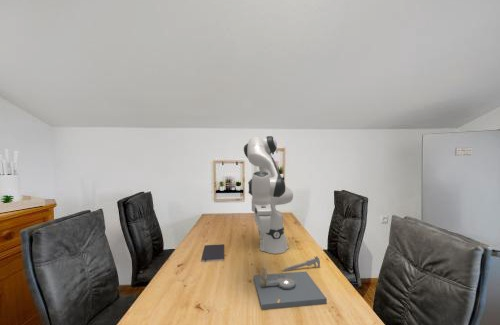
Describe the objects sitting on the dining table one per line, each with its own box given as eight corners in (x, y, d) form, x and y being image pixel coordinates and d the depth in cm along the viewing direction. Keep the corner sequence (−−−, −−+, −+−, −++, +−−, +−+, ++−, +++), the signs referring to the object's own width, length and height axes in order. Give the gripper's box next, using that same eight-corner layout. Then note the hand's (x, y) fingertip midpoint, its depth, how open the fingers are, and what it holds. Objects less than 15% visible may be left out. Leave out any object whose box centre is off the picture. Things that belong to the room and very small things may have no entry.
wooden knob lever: (292, 278, 100) (291, 263, 100) (298, 288, 92) (297, 272, 92) (259, 280, 98) (259, 265, 98) (262, 291, 90) (262, 274, 90)
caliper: (319, 267, 116) (319, 255, 115) (320, 268, 114) (320, 256, 114) (282, 270, 112) (282, 258, 112) (282, 272, 111) (282, 259, 111)
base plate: (253, 279, 103) (253, 274, 103) (306, 275, 107) (306, 271, 107) (261, 310, 82) (261, 304, 82) (326, 303, 86) (326, 298, 86)
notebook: (224, 261, 123) (224, 246, 144) (224, 258, 123) (224, 244, 144) (201, 262, 122) (204, 247, 143) (201, 260, 122) (204, 245, 143)
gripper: (251, 202, 111) (251, 229, 112) (257, 212, 91) (258, 245, 91) (263, 202, 112) (263, 228, 112) (272, 211, 92) (272, 244, 92)
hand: (261, 236), depth 102 cm, fingers closed
